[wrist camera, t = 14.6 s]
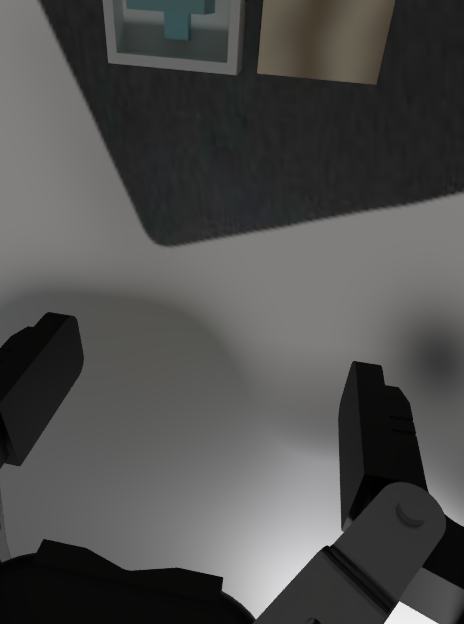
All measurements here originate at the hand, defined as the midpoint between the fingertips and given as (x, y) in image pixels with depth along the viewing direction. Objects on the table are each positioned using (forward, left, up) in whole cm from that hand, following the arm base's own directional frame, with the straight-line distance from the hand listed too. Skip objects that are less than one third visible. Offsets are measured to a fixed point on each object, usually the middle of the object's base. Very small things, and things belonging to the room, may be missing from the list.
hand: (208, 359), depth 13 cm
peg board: (-2, -8, -34) cm, 35 cm away
